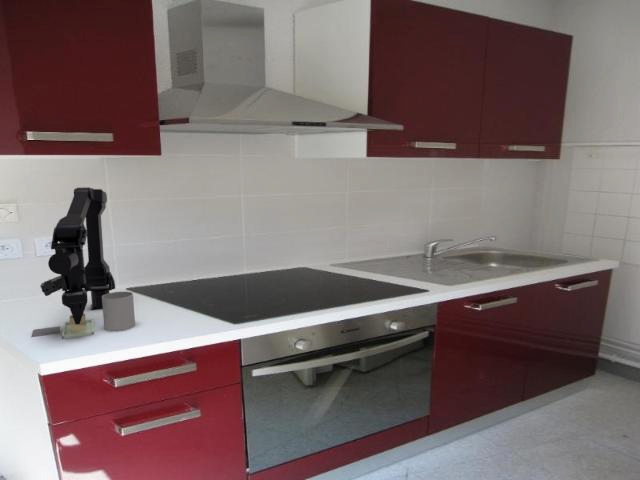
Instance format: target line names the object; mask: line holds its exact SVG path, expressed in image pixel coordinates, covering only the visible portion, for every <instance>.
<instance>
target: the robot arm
mask: <svg viewBox="0 0 640 480" xmlns="http://www.w3.org/2000/svg"><path fill="white" fill-rule="evenodd" d="M107 196H108V195H107V193H106V191H103V189H102V188H94V187H92V188H91V187H90V186H88V187H87V186H85V187H83V186H82V187H76V188H74V189H73V197H72V200H71V203H70V204H69V208H68V210H67V213H66V215H65V216H64V217H62V218H60V219H58V221H57V223H56V225H55V227H54V229H53V232H52V240H51V245H50V249H51V250H54V254H52V255H51V256H50V257H49V259H48V262H47V264H48V268H49V269H50V271H51V272H53V274H57V275H58V276H55V277H53V278H51V279H48V280H46V281H43V282H42V283H41V284H40V287H39V288H40V289H41V292H42V293H43V294H44V296H45V297H49V296H51V295H52V294H53V293H55V292H58V291H60V290H62V292H63V293H62V294H61V304H62V305H63V306H64V307H66V308H69V310H70V314H71V315H72V316H73V319H74V322H75V324H80V322H81V319H82V316H83V314H85V313H84V312H85V311H86V310H85V309H86V307H87V304H88V292H90V298H91V304H90V311H98V310H103V305H102V296H103V295H105V294H108V293H111V292H110V291H112V290H115V289H116V281H115V279H114V277H113V274H112V272H111V270H110V265H109V264H108V262H106V260H105V258H104V245H103V244H104V243H103V242H104V241H103V230H102V229H103V228H102V215H103V213H104V212H105V210H106V208H107V207H106V205H107V204H106V203H107V202H108V197H107ZM84 223H85V224H84ZM86 242H87V245H86ZM85 245H86V246H87V255H88V256H87V257H88V261H87V263H86V265H85V260H84V259H85V257H84V249H83V248H84V246H85Z"/></svg>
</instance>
